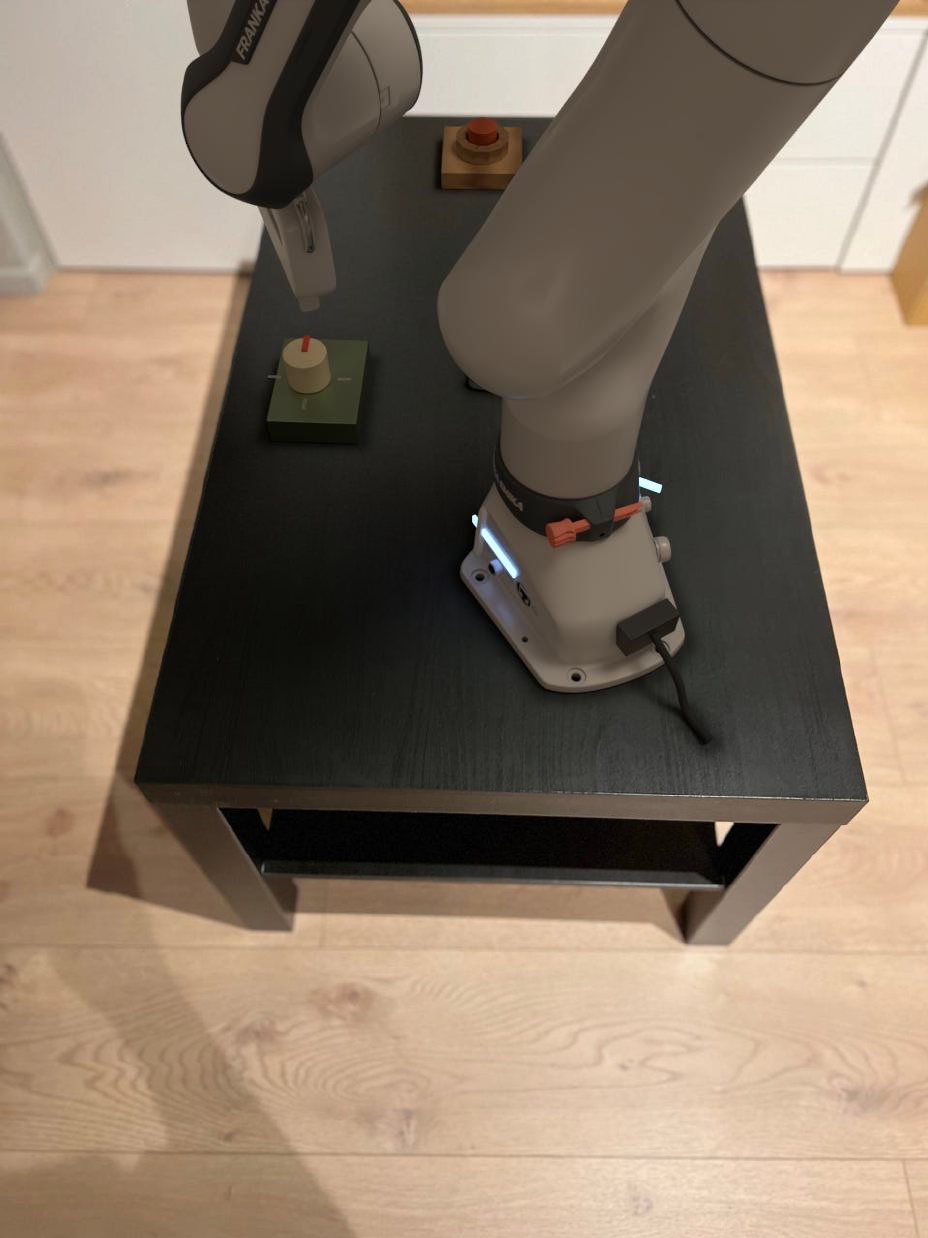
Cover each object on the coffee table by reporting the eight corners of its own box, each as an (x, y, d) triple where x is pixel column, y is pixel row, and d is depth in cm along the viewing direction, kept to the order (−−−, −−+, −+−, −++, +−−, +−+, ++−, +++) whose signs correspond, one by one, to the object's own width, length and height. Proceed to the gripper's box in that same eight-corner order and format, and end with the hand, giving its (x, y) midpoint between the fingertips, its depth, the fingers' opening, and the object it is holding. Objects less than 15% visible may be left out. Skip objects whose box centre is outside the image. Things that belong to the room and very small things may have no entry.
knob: (327, 394, 100) (323, 366, 97) (284, 393, 100) (278, 364, 97) (333, 364, 102) (328, 335, 99) (291, 362, 102) (285, 334, 99)
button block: (521, 142, 128) (522, 113, 125) (521, 189, 123) (522, 159, 119) (444, 142, 128) (443, 112, 125) (441, 188, 123) (440, 159, 120)
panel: (359, 444, 100) (355, 422, 98) (263, 440, 101) (258, 419, 98) (371, 361, 107) (368, 338, 104) (281, 358, 107) (276, 335, 104)
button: (496, 130, 124) (497, 116, 122) (496, 147, 122) (497, 133, 120) (468, 130, 124) (468, 116, 122) (467, 146, 122) (467, 133, 120)
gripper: (346, 198, 75) (361, 338, 86) (277, 58, 85) (298, 201, 96) (265, 216, 73) (291, 356, 85) (204, 72, 83) (235, 215, 95)
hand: (294, 273), depth 91 cm, fingers open, 8 cm apart
